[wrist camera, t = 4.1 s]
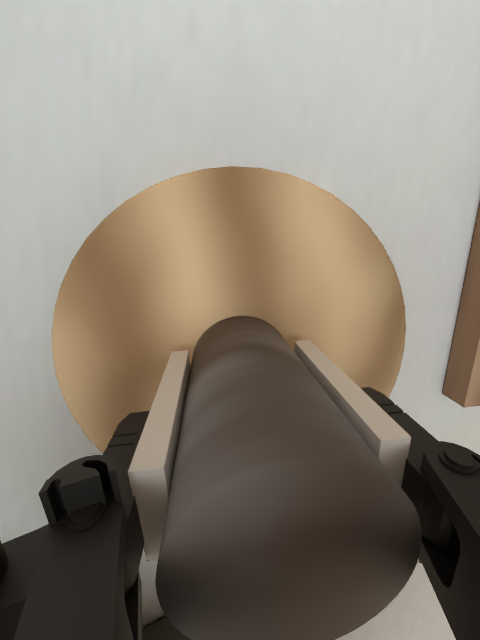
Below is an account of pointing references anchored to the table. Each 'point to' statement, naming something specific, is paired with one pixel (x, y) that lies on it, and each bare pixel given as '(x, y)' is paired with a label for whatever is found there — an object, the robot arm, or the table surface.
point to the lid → (248, 396)
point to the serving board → (467, 336)
